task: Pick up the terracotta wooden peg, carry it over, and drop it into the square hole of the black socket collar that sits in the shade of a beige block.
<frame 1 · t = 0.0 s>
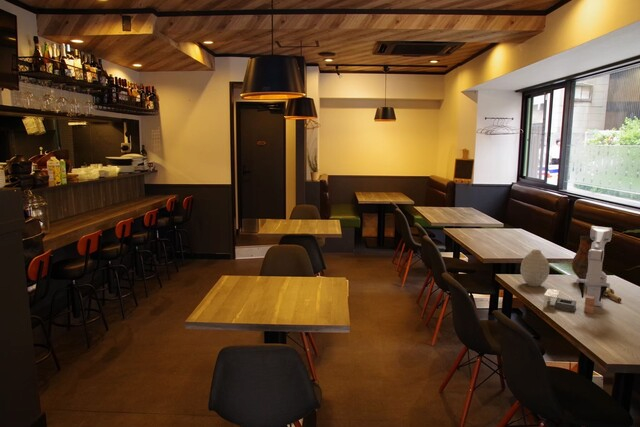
hand: (591, 299, 240), 10 cm above the table, tool pointing down, fingers open, 7 cm apart
peg: (588, 311, 251), on the table
kendama: (607, 298, 276), on the table
socket: (565, 307, 256), on the table
beige block: (550, 305, 260), on the table
vase: (533, 285, 297), on the table
pitcher: (586, 284, 302), on the table
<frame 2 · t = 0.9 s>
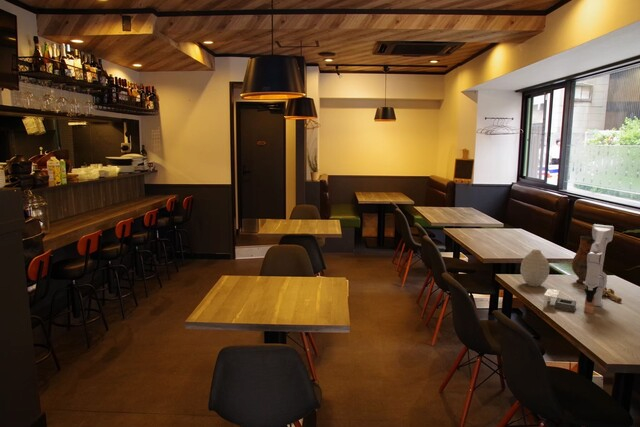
hand: (589, 300, 250), 6 cm above the table, tool pointing down, fingers open, 7 cm apart
nothing on the table moved.
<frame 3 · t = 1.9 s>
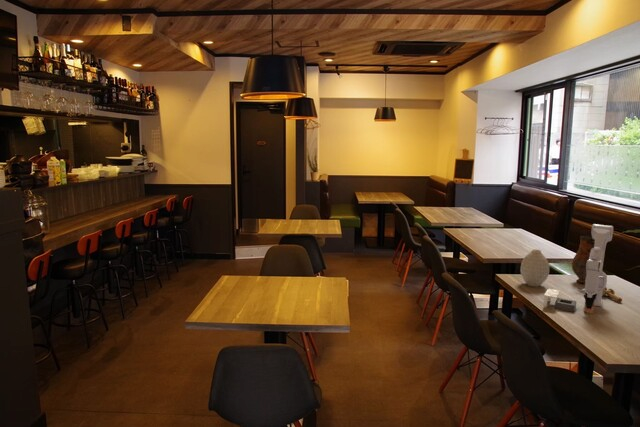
hand: (589, 307, 250), 2 cm above the table, tool pointing down, fingers closed on peg, 4 cm apart
peg: (588, 311, 251), on the table, touching gripper
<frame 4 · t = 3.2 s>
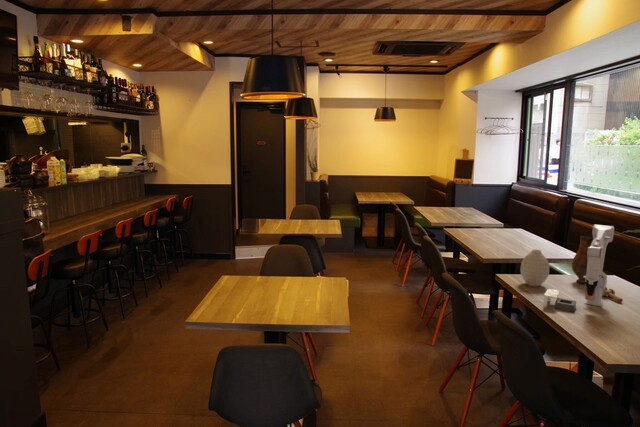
hand: (590, 294, 249), 9 cm above the table, tool pointing down, fingers closed on peg, 4 cm apart
peg: (589, 299, 250), point 7 cm above the table, touching gripper
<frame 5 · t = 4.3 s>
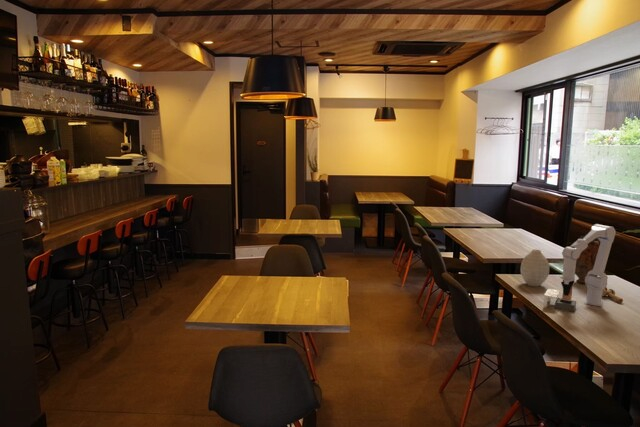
hand: (566, 294, 255), 8 cm above the table, tool pointing down, fingers closed on peg, 4 cm apart
peg: (566, 298, 255), point 5 cm above the table, touching gripper
when the fingers open (4 cm above the table, at t = 5.2 s): peg drops 2 cm, resting in socket.
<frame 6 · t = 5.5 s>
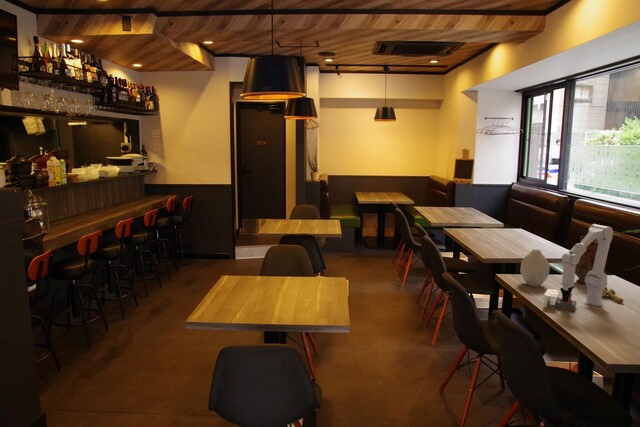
hand: (566, 299, 255), 4 cm above the table, tool pointing down, fingers open, 6 cm apart
peg: (565, 308, 256), resting in socket
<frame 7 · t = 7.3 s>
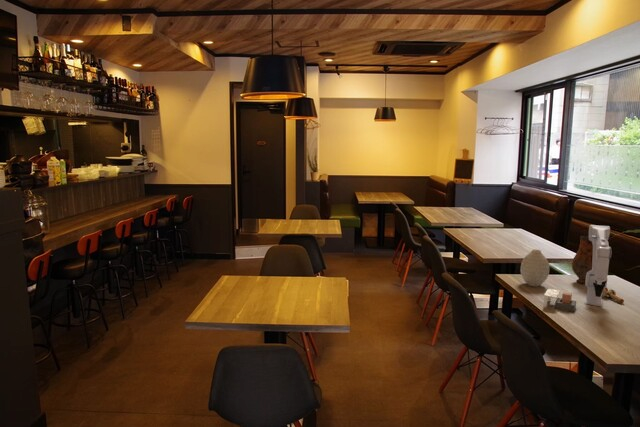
hand: (598, 294, 249), 9 cm above the table, tool pointing down, fingers open, 7 cm apart
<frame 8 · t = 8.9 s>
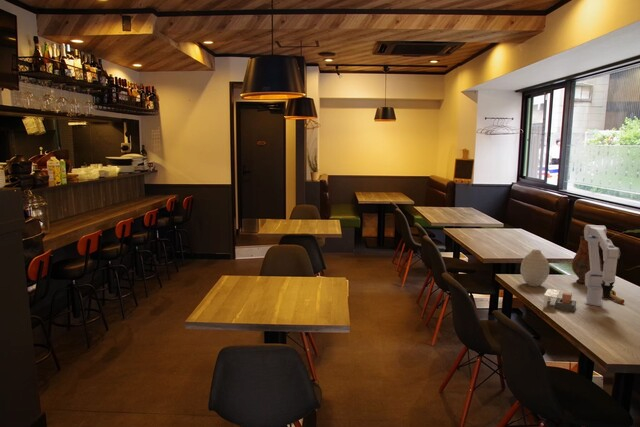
hand: (606, 295, 248), 9 cm above the table, tool pointing down, fingers open, 7 cm apart
at the end: peg 0.3 cm off-centre on the socket, point 0.0 cm above the socket's base; peg tilted 0°; the gripper is holding nothing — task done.
